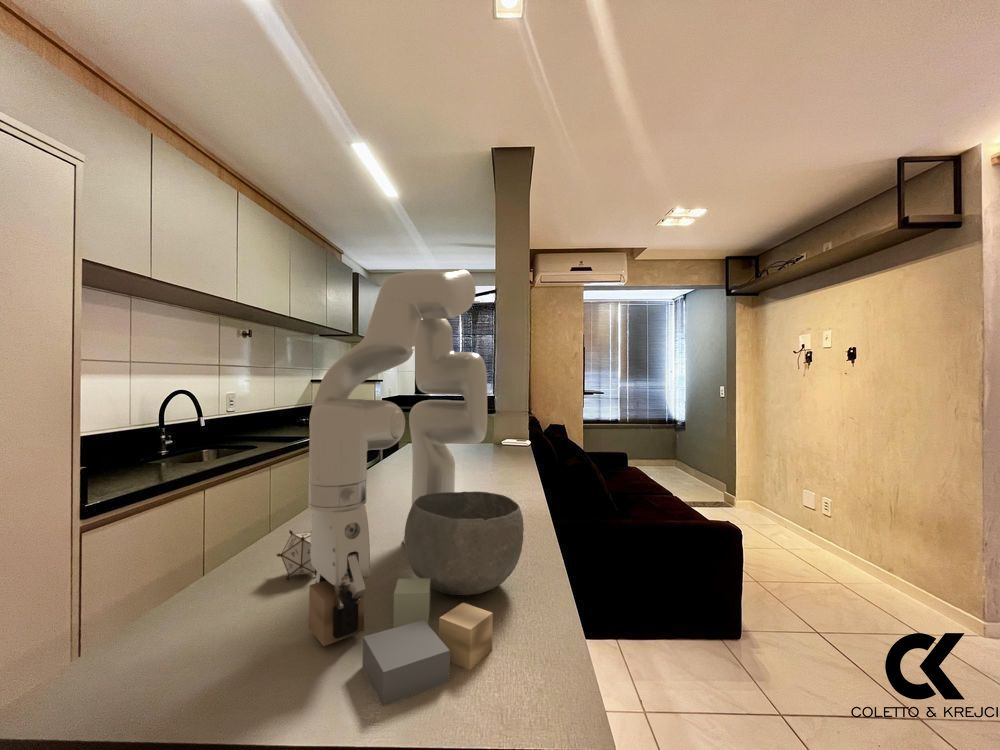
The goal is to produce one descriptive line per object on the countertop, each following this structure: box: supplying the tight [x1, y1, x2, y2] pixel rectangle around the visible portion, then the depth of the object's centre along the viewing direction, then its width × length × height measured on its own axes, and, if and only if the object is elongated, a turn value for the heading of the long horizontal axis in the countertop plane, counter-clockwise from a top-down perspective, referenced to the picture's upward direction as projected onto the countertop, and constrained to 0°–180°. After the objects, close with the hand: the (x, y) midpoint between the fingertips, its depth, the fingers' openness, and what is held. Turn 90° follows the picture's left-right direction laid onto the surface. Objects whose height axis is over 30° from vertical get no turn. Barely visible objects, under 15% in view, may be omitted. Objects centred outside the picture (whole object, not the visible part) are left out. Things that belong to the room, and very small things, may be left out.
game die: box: [275, 529, 317, 581], centre depth 82 cm, size 9×8×10 cm
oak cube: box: [438, 602, 494, 670], centre depth 59 cm, size 5×5×5 cm
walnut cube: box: [308, 576, 365, 647], centre depth 62 cm, size 6×6×6 cm
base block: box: [362, 620, 451, 707], centre depth 54 cm, size 8×8×4 cm
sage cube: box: [392, 577, 431, 628], centre depth 67 cm, size 5×5×5 cm
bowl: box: [403, 490, 524, 596], centre depth 78 cm, size 20×20×15 cm
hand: (336, 622), depth 62 cm, fingers closed on walnut cube, 5 cm apart
